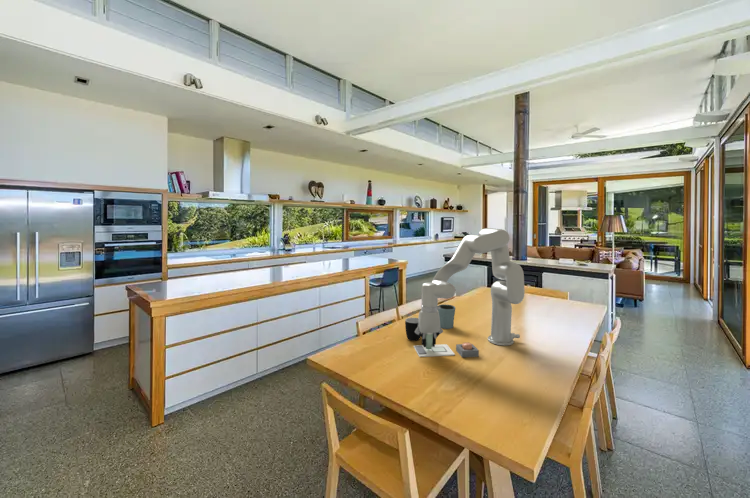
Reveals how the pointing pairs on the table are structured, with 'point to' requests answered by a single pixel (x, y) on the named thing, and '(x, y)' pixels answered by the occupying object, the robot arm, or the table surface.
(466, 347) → the button
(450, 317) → the blue-gray cup
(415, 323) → the mug
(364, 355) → the table surface
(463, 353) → the button housing
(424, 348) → the picture board
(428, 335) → the marker
